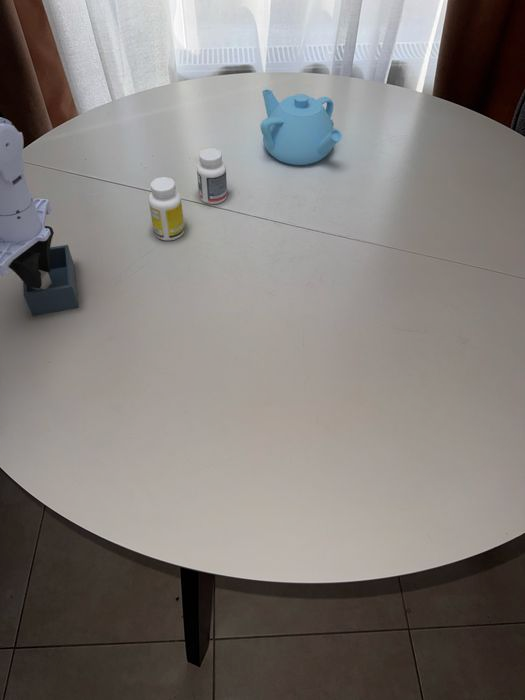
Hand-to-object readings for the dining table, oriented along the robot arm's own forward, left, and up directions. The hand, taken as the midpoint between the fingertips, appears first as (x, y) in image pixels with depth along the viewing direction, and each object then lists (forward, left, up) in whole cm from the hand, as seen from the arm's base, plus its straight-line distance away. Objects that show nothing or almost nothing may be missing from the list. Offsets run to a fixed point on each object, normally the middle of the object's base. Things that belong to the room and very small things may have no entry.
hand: (38, 278), depth 87 cm
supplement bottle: (+19, +16, -5) cm, 25 cm away
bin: (+1, +3, -5) cm, 6 cm away
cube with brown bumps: (0, 0, -2) cm, 2 cm away
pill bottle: (+27, +26, -5) cm, 38 cm away
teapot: (+45, +41, -5) cm, 61 cm away
